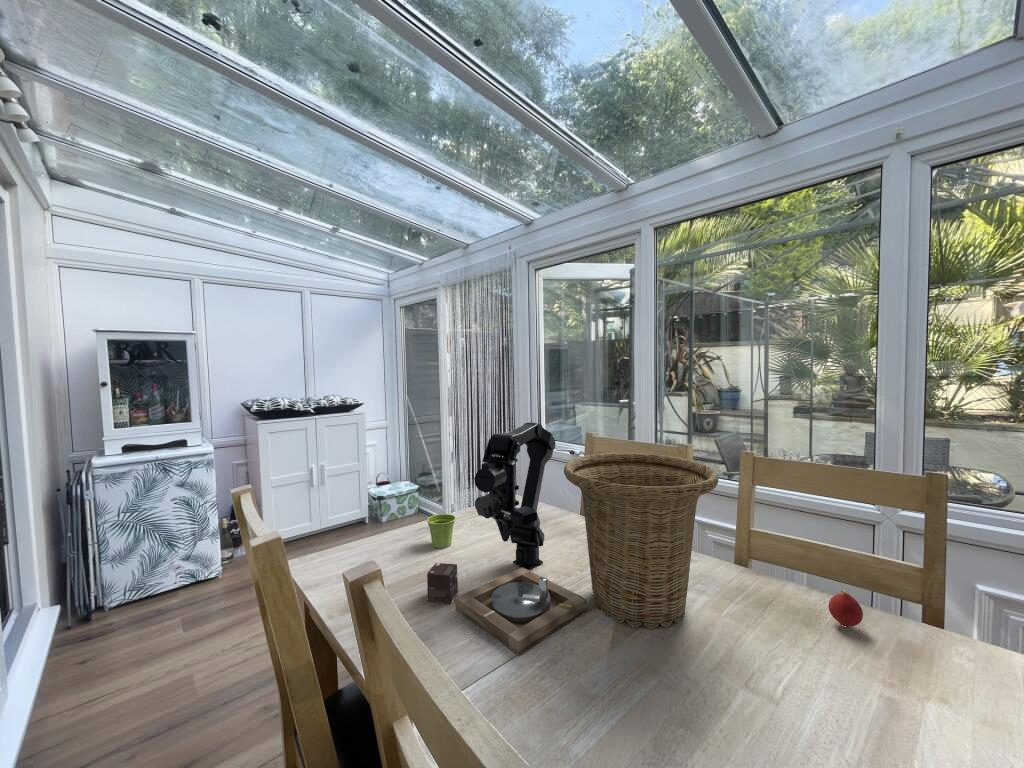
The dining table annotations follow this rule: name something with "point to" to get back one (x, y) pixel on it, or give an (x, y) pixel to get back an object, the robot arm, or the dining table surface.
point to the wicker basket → (640, 531)
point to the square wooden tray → (527, 634)
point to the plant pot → (441, 529)
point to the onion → (845, 609)
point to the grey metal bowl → (521, 601)
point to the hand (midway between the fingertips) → (505, 540)
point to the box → (442, 583)
